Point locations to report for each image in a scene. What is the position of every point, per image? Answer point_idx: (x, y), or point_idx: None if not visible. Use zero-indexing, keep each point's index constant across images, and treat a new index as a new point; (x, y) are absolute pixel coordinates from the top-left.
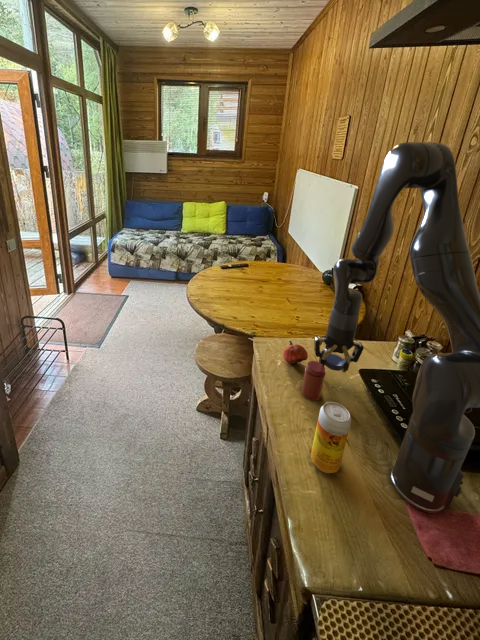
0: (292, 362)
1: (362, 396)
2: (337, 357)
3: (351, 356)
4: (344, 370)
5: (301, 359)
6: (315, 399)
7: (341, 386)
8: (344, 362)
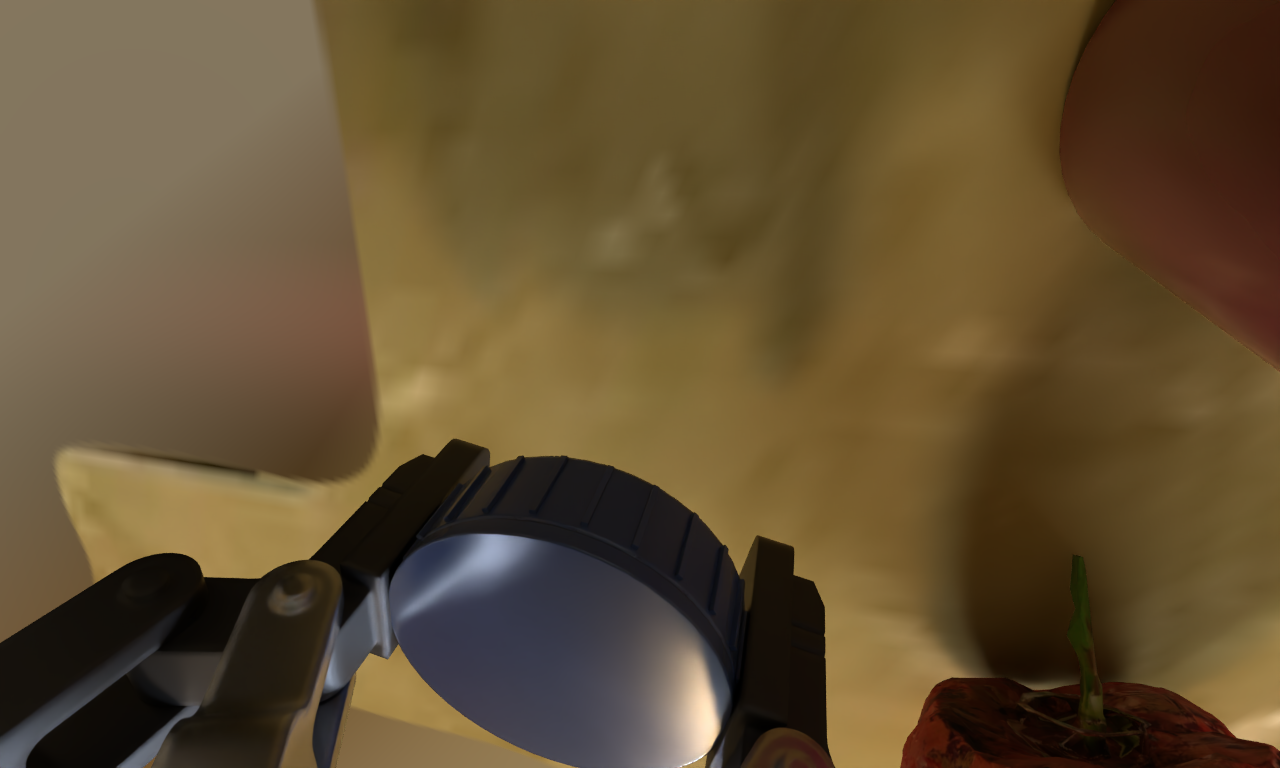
0: (1148, 709)
1: (354, 35)
2: (481, 689)
3: (202, 685)
4: (457, 461)
5: (1011, 733)
6: None
7: (589, 250)
8: (394, 586)
